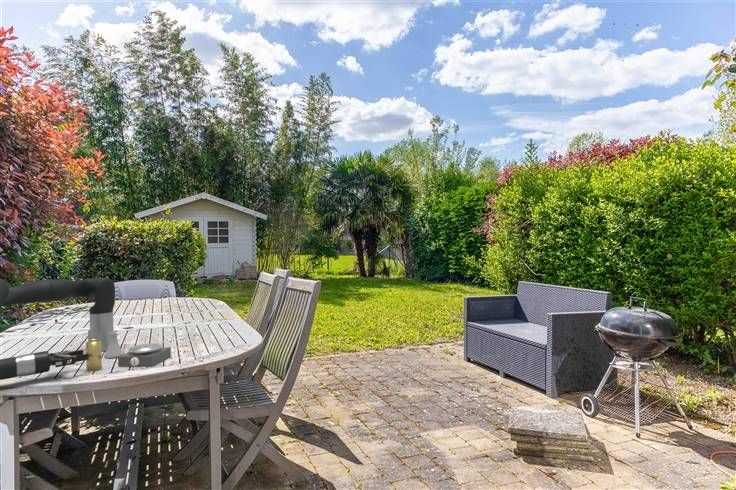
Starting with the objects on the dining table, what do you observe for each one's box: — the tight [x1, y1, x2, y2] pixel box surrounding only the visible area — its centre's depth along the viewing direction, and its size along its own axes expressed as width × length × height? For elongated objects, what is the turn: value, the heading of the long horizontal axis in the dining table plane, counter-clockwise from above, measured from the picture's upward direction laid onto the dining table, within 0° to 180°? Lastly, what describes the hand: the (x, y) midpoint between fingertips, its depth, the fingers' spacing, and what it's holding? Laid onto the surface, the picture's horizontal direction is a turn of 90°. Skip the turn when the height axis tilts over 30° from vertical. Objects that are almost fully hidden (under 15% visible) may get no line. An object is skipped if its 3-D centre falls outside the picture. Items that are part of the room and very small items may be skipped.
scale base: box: [117, 346, 172, 368], centre depth 176 cm, size 14×14×4 cm
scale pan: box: [128, 343, 162, 354], centre depth 176 cm, size 12×12×1 cm
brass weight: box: [85, 338, 103, 372], centre depth 166 cm, size 5×5×12 cm
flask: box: [103, 332, 124, 359], centre depth 185 cm, size 7×7×10 cm
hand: (85, 354), depth 164 cm, fingers open, 8 cm apart
